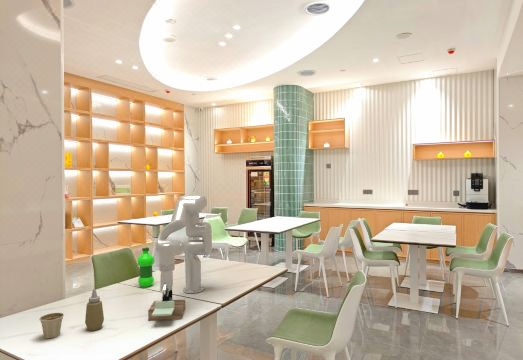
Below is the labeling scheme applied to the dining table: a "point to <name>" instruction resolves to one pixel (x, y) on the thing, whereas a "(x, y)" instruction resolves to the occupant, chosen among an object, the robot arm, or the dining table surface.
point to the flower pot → (51, 324)
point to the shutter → (163, 308)
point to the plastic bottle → (145, 268)
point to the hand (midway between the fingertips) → (167, 300)
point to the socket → (177, 314)
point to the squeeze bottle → (94, 312)
